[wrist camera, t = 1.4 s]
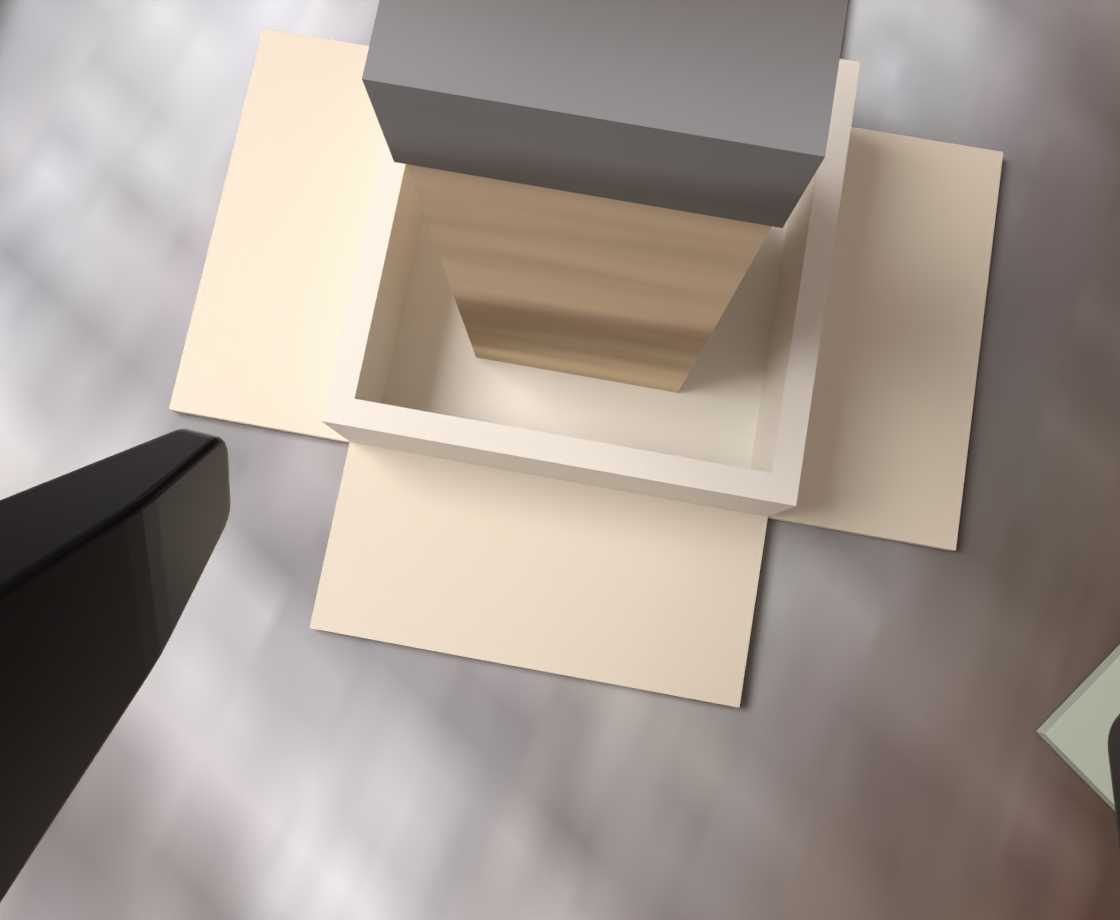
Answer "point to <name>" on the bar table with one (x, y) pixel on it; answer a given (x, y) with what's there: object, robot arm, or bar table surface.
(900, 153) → the carton
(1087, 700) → the rubber pad
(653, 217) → the box
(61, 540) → the robot arm
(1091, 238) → the bar table surface
